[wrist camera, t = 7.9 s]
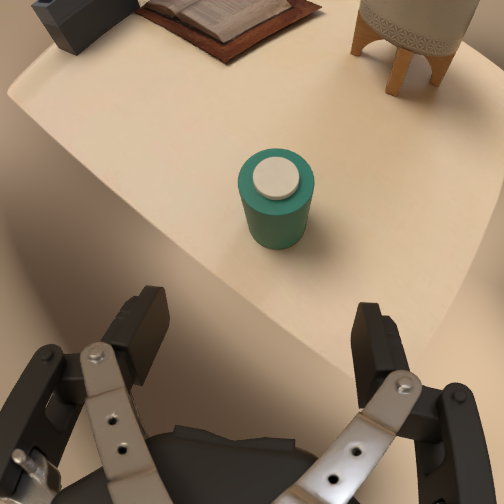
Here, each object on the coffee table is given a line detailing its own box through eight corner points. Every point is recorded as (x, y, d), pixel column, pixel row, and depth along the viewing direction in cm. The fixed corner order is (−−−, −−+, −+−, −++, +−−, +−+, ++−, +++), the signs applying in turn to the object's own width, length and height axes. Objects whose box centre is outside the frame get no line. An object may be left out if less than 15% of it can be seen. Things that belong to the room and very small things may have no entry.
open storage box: (76, 55, 42) (46, 7, 30) (58, 48, 44) (30, 5, 32) (140, 7, 44) (121, -43, 32) (117, 3, 46) (97, -41, 34)
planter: (438, 59, 36) (475, -30, 18) (437, 114, 33) (493, 9, 16) (359, 29, 38) (374, -68, 21) (341, 77, 35) (361, -44, 18)
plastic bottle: (292, 258, 29) (297, 224, 21) (238, 236, 30) (223, 194, 22) (314, 208, 31) (325, 159, 22) (262, 188, 32) (256, 134, 23)
